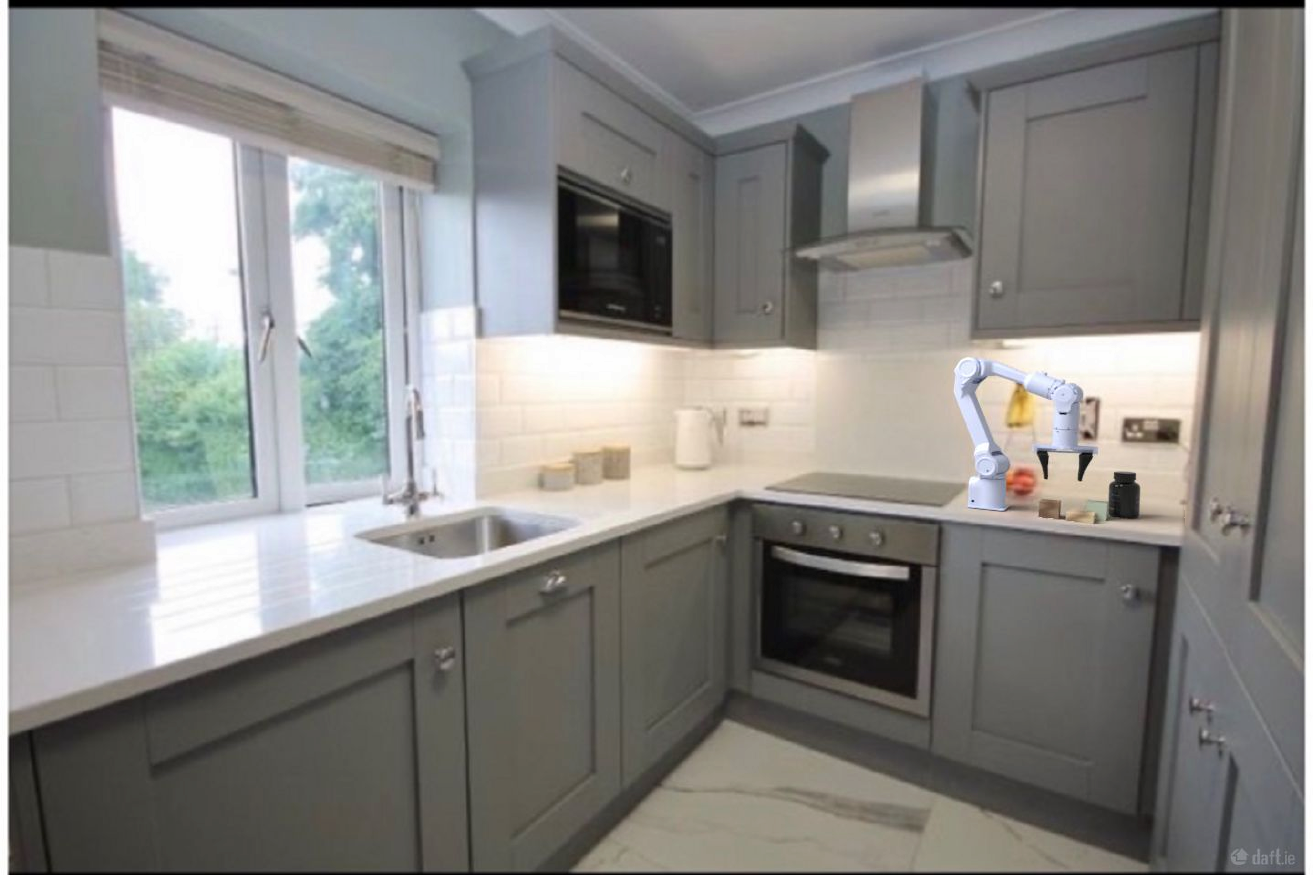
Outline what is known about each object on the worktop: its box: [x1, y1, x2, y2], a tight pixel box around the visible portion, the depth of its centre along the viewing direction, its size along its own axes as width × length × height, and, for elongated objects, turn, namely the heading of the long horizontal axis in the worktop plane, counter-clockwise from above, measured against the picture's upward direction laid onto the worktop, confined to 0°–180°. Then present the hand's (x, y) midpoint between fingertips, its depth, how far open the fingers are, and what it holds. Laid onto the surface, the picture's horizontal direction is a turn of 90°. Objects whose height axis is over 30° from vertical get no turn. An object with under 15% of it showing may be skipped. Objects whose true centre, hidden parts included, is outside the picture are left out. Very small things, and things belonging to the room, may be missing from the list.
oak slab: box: [1065, 508, 1096, 525], centre depth 165 cm, size 6×6×2 cm
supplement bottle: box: [1107, 471, 1141, 520], centre depth 169 cm, size 7×7×12 cm
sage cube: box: [1085, 499, 1109, 522], centre depth 167 cm, size 4×4×4 cm
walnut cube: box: [1038, 498, 1062, 520], centre depth 169 cm, size 4×4×4 cm
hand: (1062, 479), depth 168 cm, fingers open, 7 cm apart
